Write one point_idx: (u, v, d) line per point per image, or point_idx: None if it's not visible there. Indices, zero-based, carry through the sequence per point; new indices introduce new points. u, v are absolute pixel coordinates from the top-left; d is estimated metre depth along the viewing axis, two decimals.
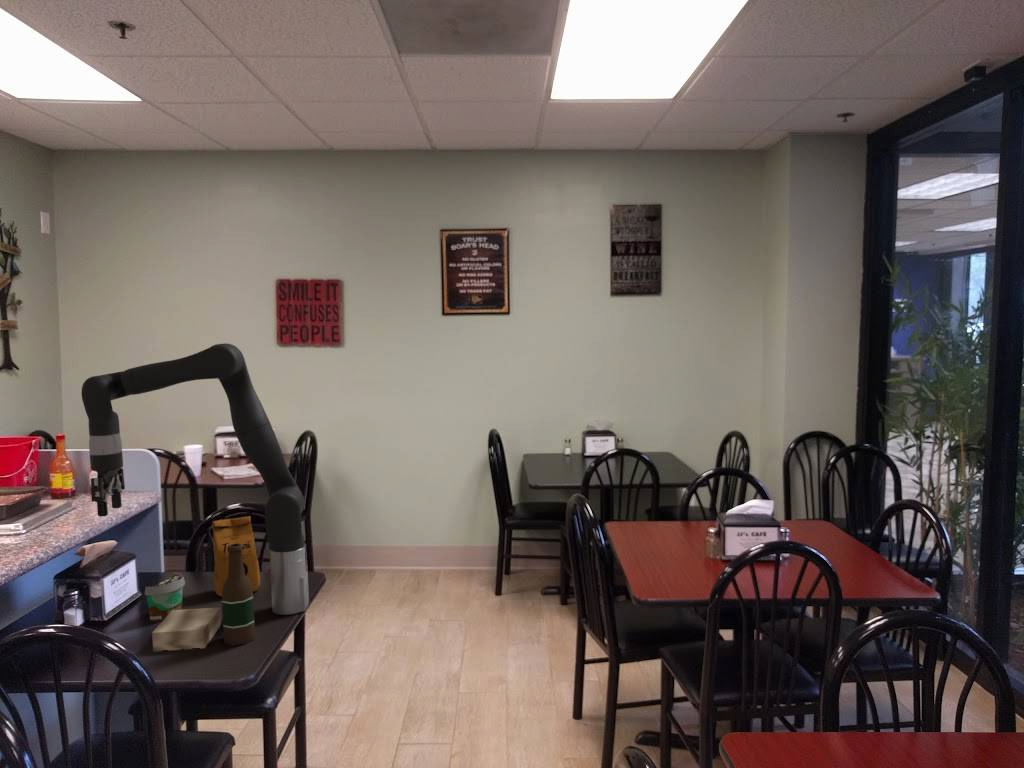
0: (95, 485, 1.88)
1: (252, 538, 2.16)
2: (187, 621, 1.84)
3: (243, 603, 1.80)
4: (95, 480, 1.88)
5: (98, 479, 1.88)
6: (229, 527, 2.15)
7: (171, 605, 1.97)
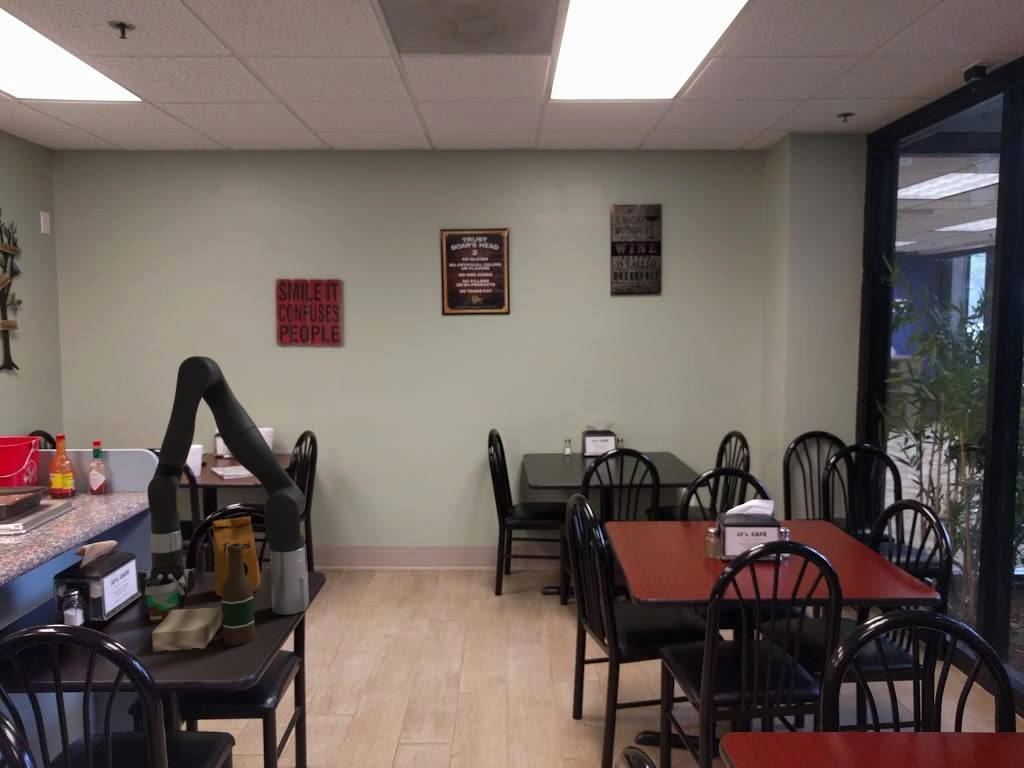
0: (193, 576, 1.99)
1: (252, 538, 2.16)
2: (187, 621, 1.84)
3: (243, 603, 1.80)
4: (194, 571, 1.99)
5: (194, 570, 2.00)
6: (229, 527, 2.15)
7: (171, 605, 1.97)
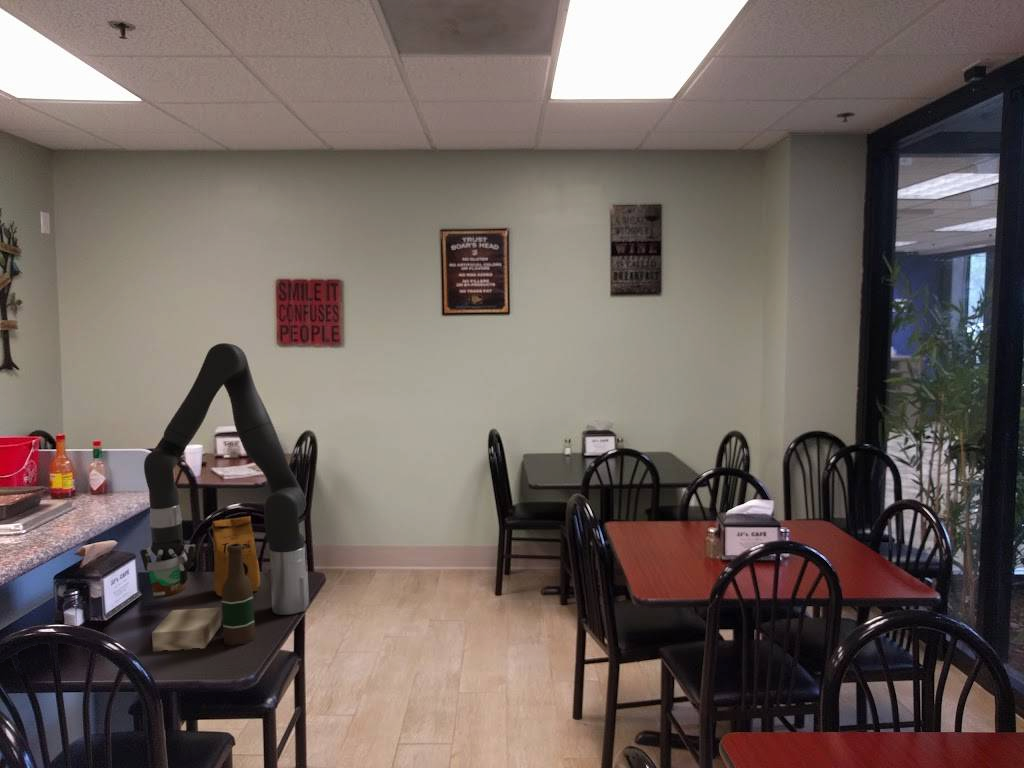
0: (193, 552, 1.98)
1: (252, 538, 2.16)
2: (187, 621, 1.84)
3: (243, 603, 1.80)
4: (194, 547, 1.98)
5: (194, 545, 1.99)
6: (229, 527, 2.15)
7: (174, 580, 1.96)
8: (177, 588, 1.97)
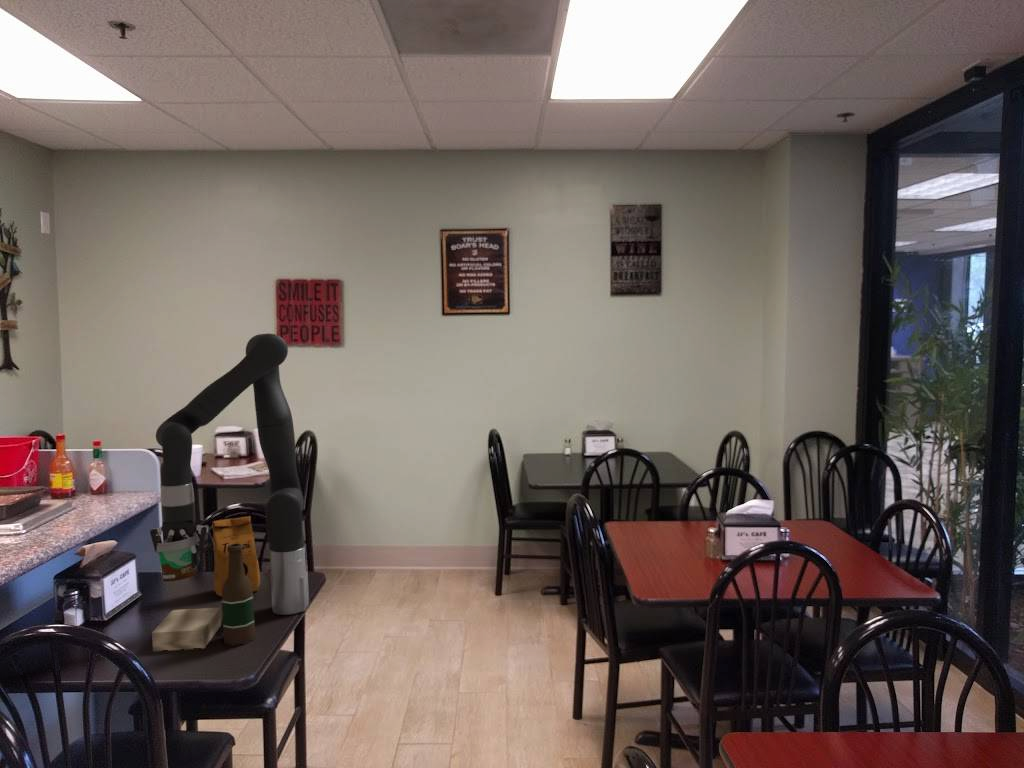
0: (206, 533, 1.86)
1: (252, 538, 2.16)
2: (187, 621, 1.84)
3: (243, 603, 1.80)
4: (207, 528, 1.86)
5: (207, 526, 1.86)
6: (229, 527, 2.15)
7: (185, 563, 1.84)
8: (188, 571, 1.85)
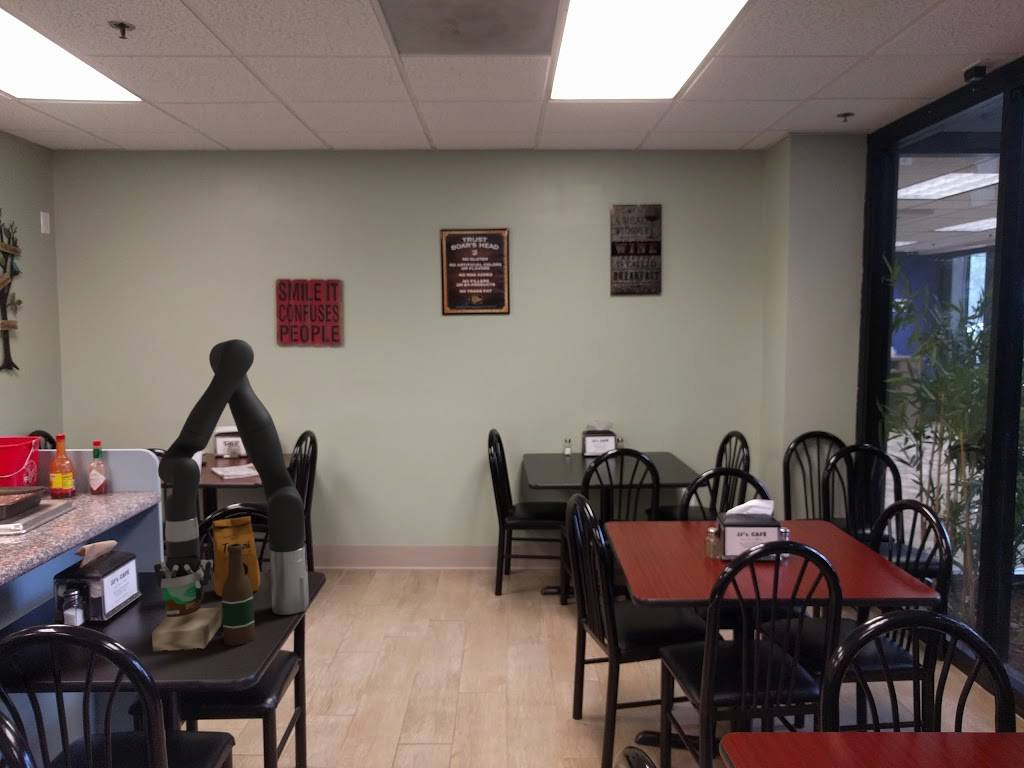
0: (210, 568, 1.85)
1: (252, 538, 2.16)
2: (187, 621, 1.84)
3: (243, 603, 1.80)
4: (212, 563, 1.85)
5: (211, 561, 1.85)
6: (229, 527, 2.15)
7: (189, 598, 1.83)
8: (192, 606, 1.83)
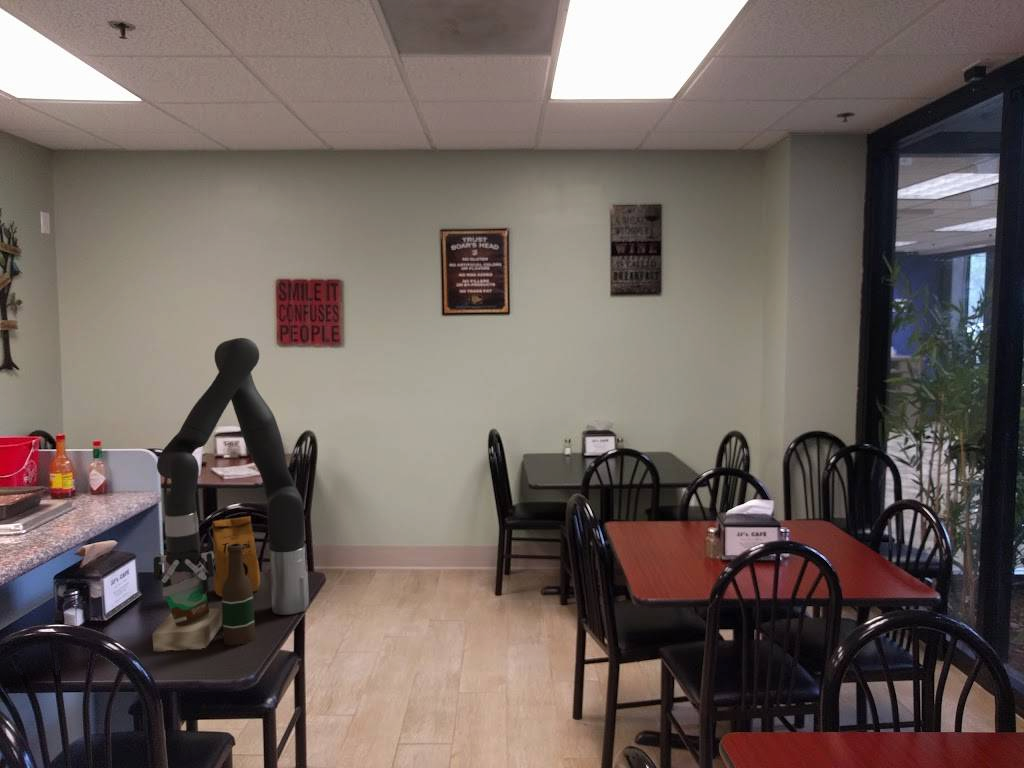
0: (212, 559, 1.84)
1: (252, 538, 2.16)
2: (188, 622, 1.83)
3: (243, 603, 1.80)
4: (212, 554, 1.84)
5: (212, 552, 1.85)
6: (229, 527, 2.15)
7: (194, 603, 1.83)
8: (199, 611, 1.84)
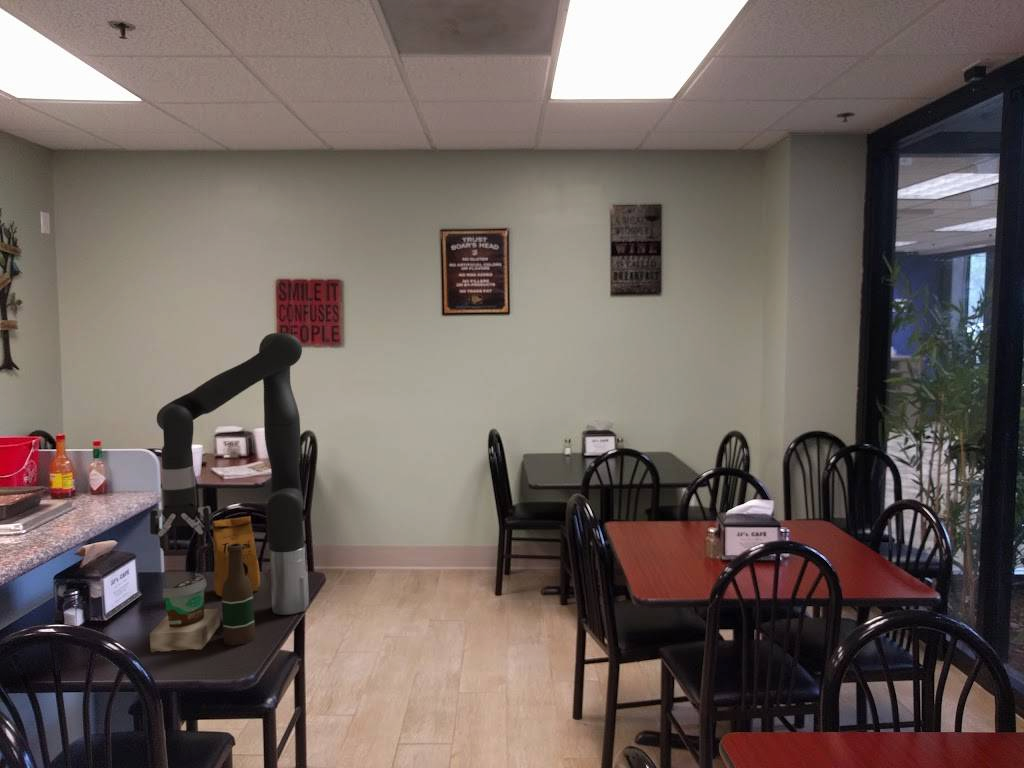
0: (209, 513, 1.84)
1: (252, 538, 2.16)
2: None
3: (243, 603, 1.80)
4: (209, 508, 1.84)
5: (208, 507, 1.85)
6: (229, 527, 2.15)
7: (191, 609, 1.82)
8: (194, 617, 1.83)
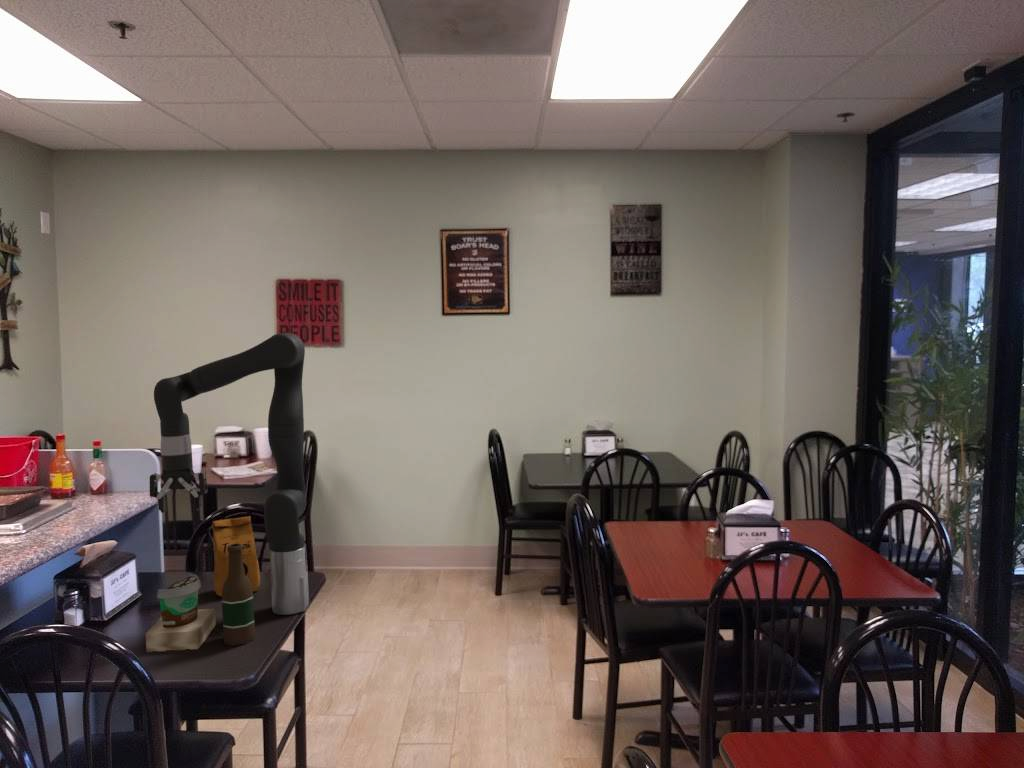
0: (204, 478, 1.99)
1: (252, 538, 2.16)
2: None
3: (243, 603, 1.80)
4: (204, 473, 1.99)
5: (203, 472, 2.00)
6: (229, 527, 2.15)
7: (186, 609, 1.82)
8: (188, 617, 1.83)
